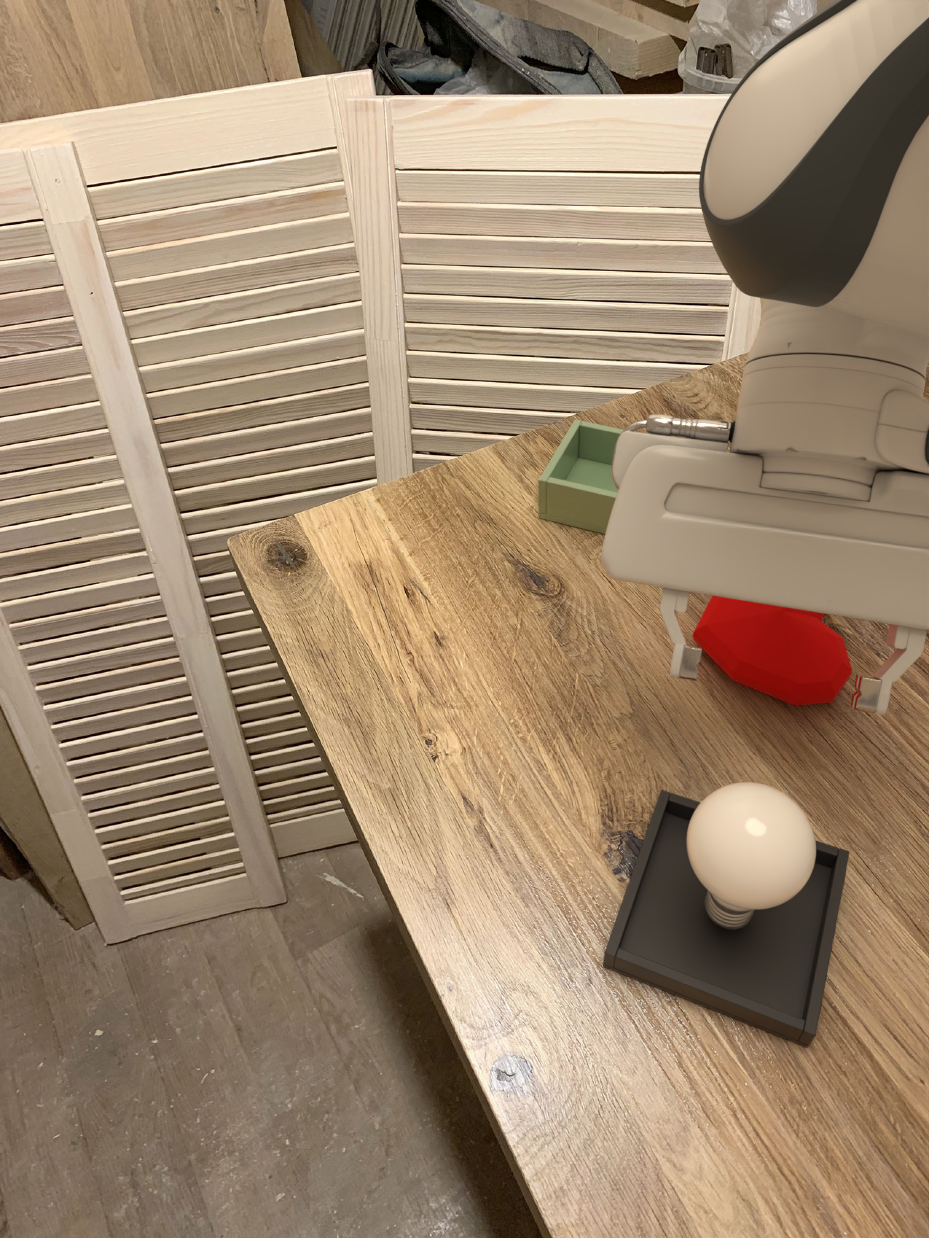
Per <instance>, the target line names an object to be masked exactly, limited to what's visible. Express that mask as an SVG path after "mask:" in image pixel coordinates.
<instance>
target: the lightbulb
mask: <svg viewBox="0 0 929 1238" xmlns="http://www.w3.org/2000/svg"><path fill="white" fill-rule="evenodd" d="M700 802H701V803H700V804H699V805H698V807H697V808H696V810H695V811H694V813H693V815H692V817H691V820H690V822H689V826H688V830H687V838H686V845H687V853H688V858H689V861H690V864H691V866H692V869H693V871H694V873H695V875H696V876H697V878H698V879H699V881H700V882H701V883H702V884H703V886H704V887H705V888H706V889H707V890H708V892H707V895H706V898H705V909H706V912H707V914H708V916H709V917H710V919H711V920H712V921H713V922H714V923H716V924H717V925H719V926H720V927H723V928H726V929H739V928H742V927H744V926H745V925H747V924H748V923H749V921H750V920H751V918H752V916H753V913H754V910H761V909H768V908H772V907H776V906H778V905H781V904H783V903H785V902H787V901H788V900H790V899H792V898H793V897H794V896H795V895H797V894H798V893H799V892H800V891H801V890H802V888H803V887H804V886H805V884H806V883H807V881H808V880H809V878H810V876H811V874H812V871H813V868H814V864H815V859H816V841H817V840H816V837H815V832H814V829H813V826H812V824H811V821H810V820H809V818H808V816H807V814H806V813H805V811H804V810H803V809H802V807H801V806H800V805H799V804H798V803H797V802H796V801H795V800H794V799H793V798H792V797H791V796H789V795H788V794H786V793H784V792H783V791H781V790H780V789H778V788H776V787H774V786H771V785H768V784H765V783H760V782H754V781H739V782H733V783H730V784H725V785H723V786H721V787H719V788H717V789H715V790H713V791H712V792H710V793H709V794H708V795H707V796H706V797H704V798H703V799H702V801H700ZM815 840H816V841H815Z"/></svg>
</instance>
